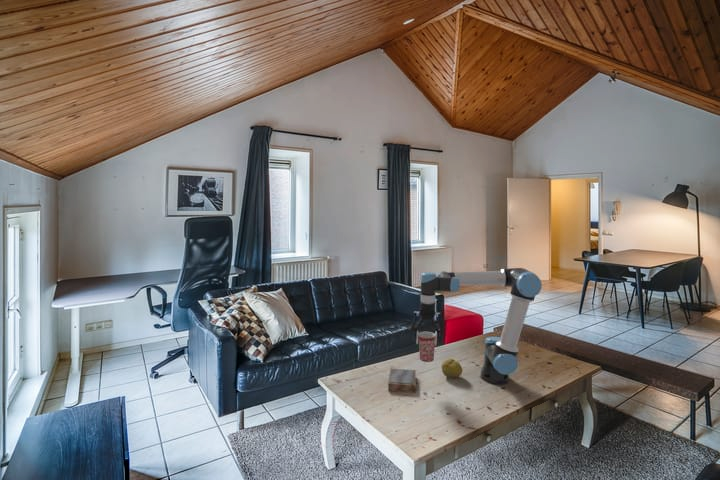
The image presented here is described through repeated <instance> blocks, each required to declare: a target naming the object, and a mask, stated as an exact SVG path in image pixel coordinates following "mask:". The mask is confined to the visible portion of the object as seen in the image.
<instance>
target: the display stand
mask: <svg viewBox="0 0 720 480" xmlns="http://www.w3.org/2000/svg"><path fill="white" fill-rule="evenodd" d="M387 385H388V386H387V387H388V388H387V389H388V391H387V392H399V393H400V392H401V393H410V394H411V393H414V394H416V369H405V368H402V369H401V368H390V369H389V378H388V383H387Z"/></svg>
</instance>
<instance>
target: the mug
mask: <svg viewBox="0 0 720 480" xmlns="http://www.w3.org/2000/svg"><path fill="white" fill-rule="evenodd" d="M435 336H436V335H435V333H434V332H431V331H420V332H418V349H419V350H418V351H419V360H420V361H421V362H424V363H431V362H433V361H434V359H435V346H436V345H435Z"/></svg>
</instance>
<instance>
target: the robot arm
mask: <svg viewBox="0 0 720 480" xmlns="http://www.w3.org/2000/svg"><path fill="white" fill-rule="evenodd" d="M497 285H498V286H499V285H500V286H501V287H506V288H507V287H509V288H511V290H510V294H509V295H511V301H510V304H509V308H508V310H507V314H506V317H505V321H504V323H503V324H504V325H503V327H502V331H501V335H500V336H499V337H498V336H487V337H486V338H485V341H484V362H483V365H482V368H481V370H480V375H479V376H480V378H481V379H482V380H483V381H485V382H487V383H490V384H494V385H504V384H507V383H509V381H510V374H513V373H515V372H516V370H518V367H519V362H518V359H517V357H518V354H519V351H520V350H519V348H518V347H517V346H518V343H519V339H520V336H521V332H522V329H523V327H524V322H525V320H526V317H527V312H528V309H529V307H530V303H532V302H534V300H535V297H536V296H537V295H539V294H540V292H541V290H542V288H543V287H542V286H543V285H542V281H541V279H540V277H539V276H538V275H537V274H536V273H534V272H532V271H530V270H527V269H526V268H524V267H512V268H501V269H500V270H490V271H489V270H487V271H485V270H483V271H481V270H479V271H478V270H477V271H455V272H452V271H449V272H447V271H443V270H442V271H440V272H438V273H437V274H436V273H435V272H431V271H429V272H428V271H426V272H422V273H421V278H420V305H419V307H420V308H419V311H416V310H415V311H413V314H414V316H413V320H412V324H411V327H410V328H411V329H410V330H411V331H413V332H414V333H413V334H414V338H416V341H415V343H416V345H419V336H418V334H419V328H420V327H421V325H422V323H423V322H424V321H427V320H428V321H430V322H431V323H432V325H433V327H434V329H435V331H434V332H435V333H434V334H435V335H436V336H435V346H437V341H438V340H439V339H440V333H443V332H444V330H443V325H442V321H441V318H442V317H441V312H436V311H435V310H436V292H444V293H445V292H448V293H457V292H459V291H460V287H463V286H468V287H469V286H497ZM419 315H420V318H419V320H418V321H417V318H418V317H419ZM435 316H436V318H437V322H438V325H439V327H438V326H437V323H436V322H435V319H434V317H435ZM416 323H417V324H416Z"/></svg>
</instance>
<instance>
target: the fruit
mask: <svg viewBox="0 0 720 480" xmlns="http://www.w3.org/2000/svg"><path fill="white" fill-rule="evenodd" d="M441 372H442V373H443V375H444V376H445V377H447V378H451V379H452V378H458V377H460V376H461V375H462V374H463V368H462V365H461V364H460V362H459V361H456V359H453V358H448V359H446V360H444V361H443V362H442V364H441Z"/></svg>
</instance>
